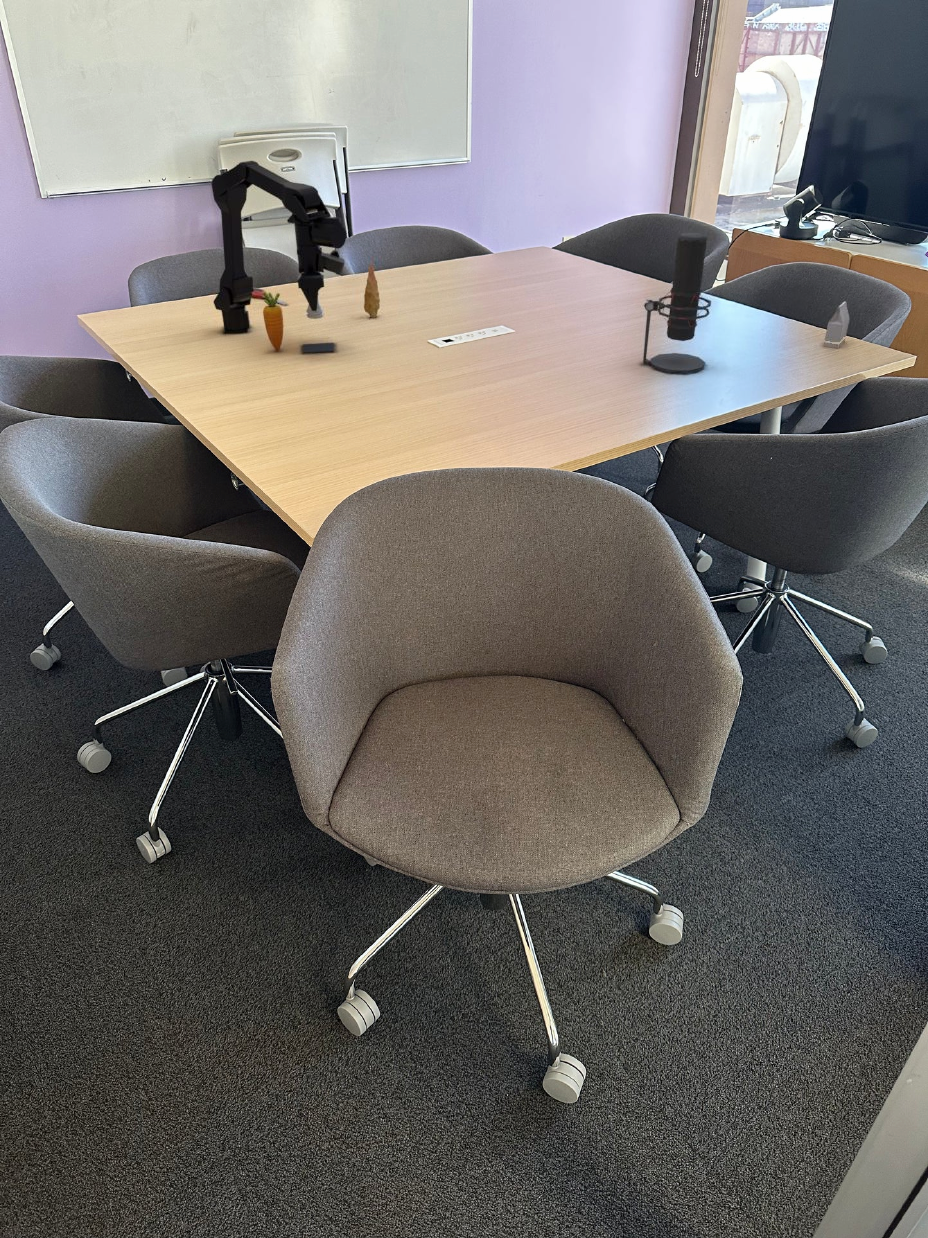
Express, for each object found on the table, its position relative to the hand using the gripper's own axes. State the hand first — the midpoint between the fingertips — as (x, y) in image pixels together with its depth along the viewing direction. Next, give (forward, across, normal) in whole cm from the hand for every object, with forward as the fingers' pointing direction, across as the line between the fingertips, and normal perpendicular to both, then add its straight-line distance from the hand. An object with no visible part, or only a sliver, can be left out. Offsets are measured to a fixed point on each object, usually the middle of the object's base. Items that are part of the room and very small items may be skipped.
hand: (314, 308), depth 229 cm
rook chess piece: (+2, 0, 0) cm, 2 cm away
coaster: (+10, -1, 0) cm, 10 cm away
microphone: (+10, -29, -86) cm, 92 cm away
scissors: (+10, +53, +15) cm, 57 cm away
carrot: (+10, -1, +10) cm, 15 cm away
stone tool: (+10, +26, -16) cm, 32 cm away
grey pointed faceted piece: (+10, -19, -132) cm, 134 cm away
